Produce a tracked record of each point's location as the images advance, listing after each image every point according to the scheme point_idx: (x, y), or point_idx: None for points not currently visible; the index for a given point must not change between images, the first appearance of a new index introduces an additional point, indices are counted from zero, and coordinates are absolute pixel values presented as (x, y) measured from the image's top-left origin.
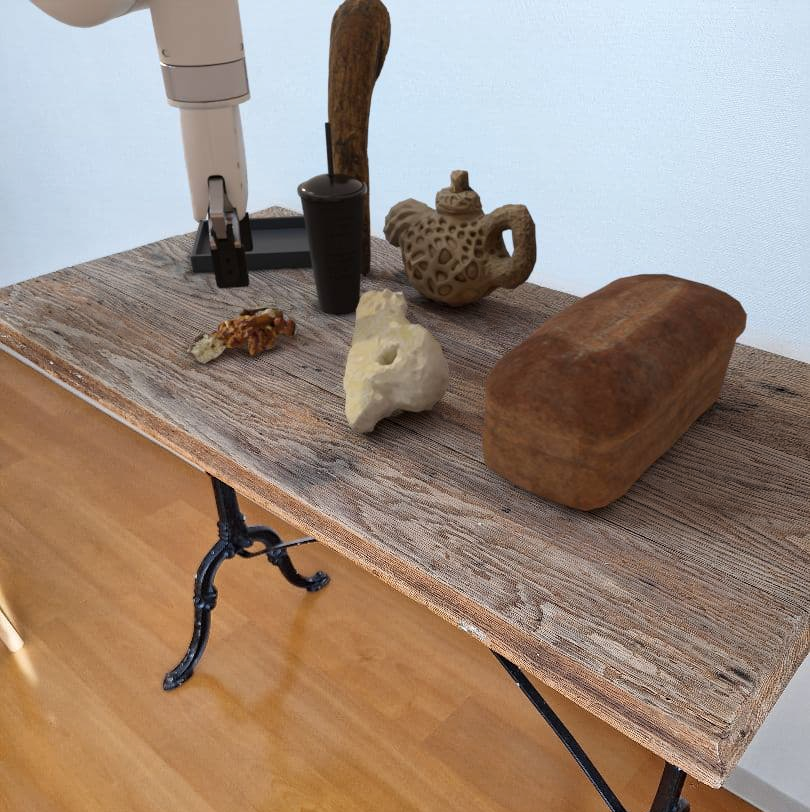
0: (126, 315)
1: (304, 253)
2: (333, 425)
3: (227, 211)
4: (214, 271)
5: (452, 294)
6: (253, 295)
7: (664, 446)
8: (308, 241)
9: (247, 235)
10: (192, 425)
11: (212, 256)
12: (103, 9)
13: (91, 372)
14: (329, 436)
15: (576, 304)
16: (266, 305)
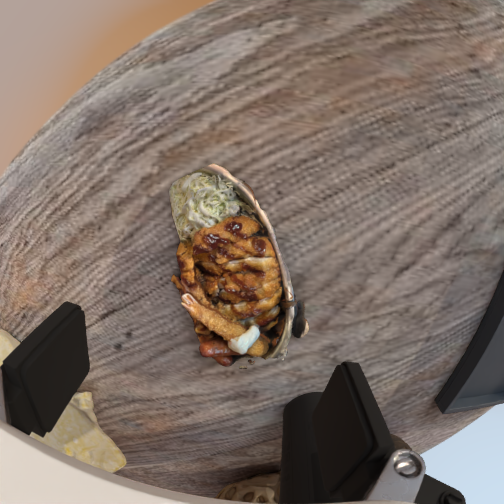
0: (426, 89)
1: (455, 393)
2: (16, 317)
3: (362, 477)
4: (44, 322)
5: (219, 493)
6: (413, 313)
7: None
8: None
9: (320, 444)
10: (19, 167)
11: (17, 348)
12: None
13: (208, 7)
14: (2, 307)
15: None
16: (282, 345)
